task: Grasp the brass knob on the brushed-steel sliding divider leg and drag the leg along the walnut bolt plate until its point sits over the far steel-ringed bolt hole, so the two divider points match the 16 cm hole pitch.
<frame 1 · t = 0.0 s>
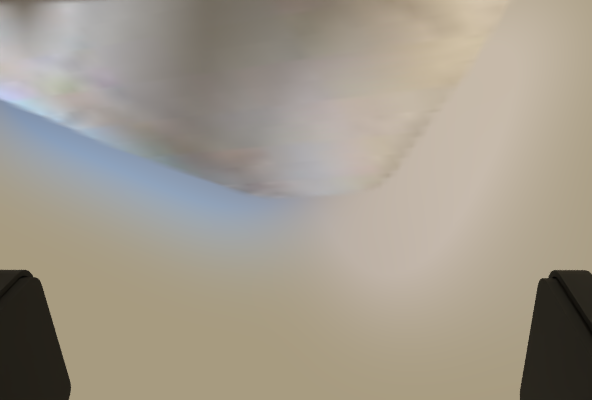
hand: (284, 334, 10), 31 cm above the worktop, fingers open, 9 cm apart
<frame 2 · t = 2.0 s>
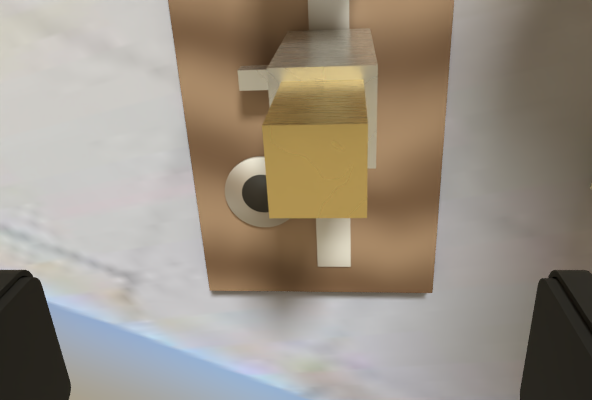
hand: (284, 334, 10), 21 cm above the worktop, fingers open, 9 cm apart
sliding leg: (294, 108, 22), point 8 cm above the worktop, slide at 7.0 cm
bolt plate: (311, 44, 29), on the worktop
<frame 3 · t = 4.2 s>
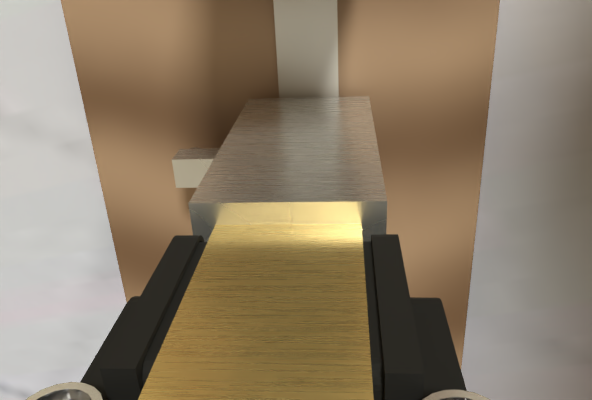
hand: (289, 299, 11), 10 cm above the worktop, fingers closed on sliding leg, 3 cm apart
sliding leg: (247, 250, 13), point 8 cm above the worktop, slide at 7.0 cm, touching gripper
bolt plate: (284, 112, 20), on the worktop
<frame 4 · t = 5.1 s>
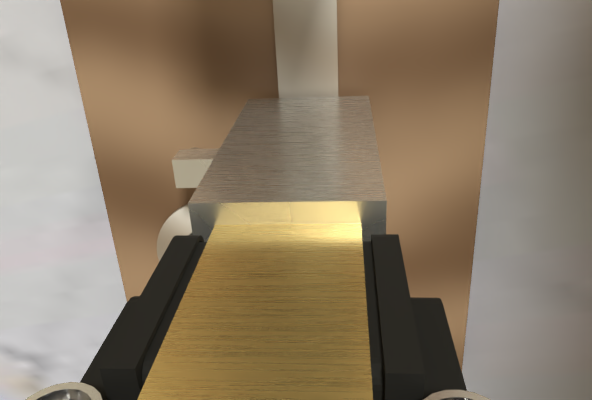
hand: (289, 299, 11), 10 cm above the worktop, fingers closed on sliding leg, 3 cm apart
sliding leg: (247, 250, 13), point 8 cm above the worktop, slide at 4.1 cm, touching gripper
bolt plate: (279, 33, 19), on the worktop
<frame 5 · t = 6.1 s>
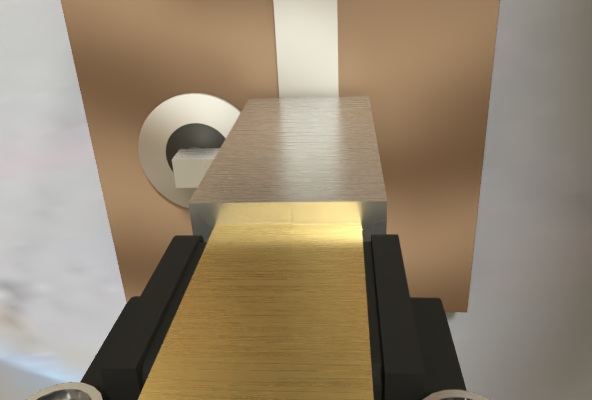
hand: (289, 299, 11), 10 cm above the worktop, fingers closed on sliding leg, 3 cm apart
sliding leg: (247, 250, 13), point 8 cm above the worktop, slide at 0.0 cm, touching gripper
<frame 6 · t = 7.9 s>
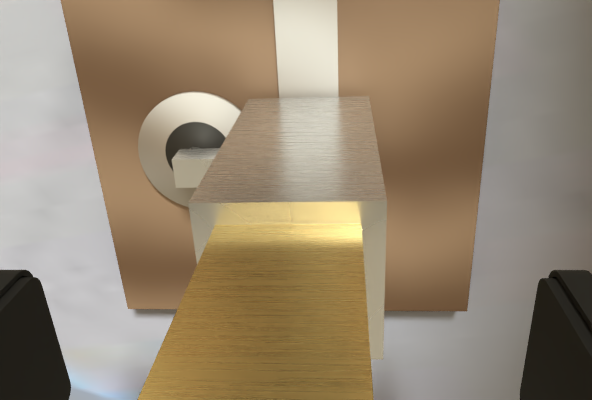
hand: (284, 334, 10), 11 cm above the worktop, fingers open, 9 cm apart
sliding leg: (246, 250, 13), point 8 cm above the worktop, slide at 0.0 cm
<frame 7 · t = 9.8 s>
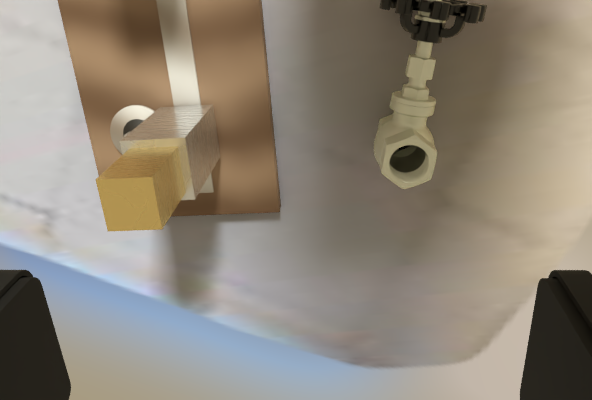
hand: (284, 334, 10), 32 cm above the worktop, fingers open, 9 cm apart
valve: (408, 81, 40), on the worktop
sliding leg: (146, 163, 35), point 8 cm above the worktop, slide at 0.0 cm
bolt plate: (165, 18, 39), on the worktop
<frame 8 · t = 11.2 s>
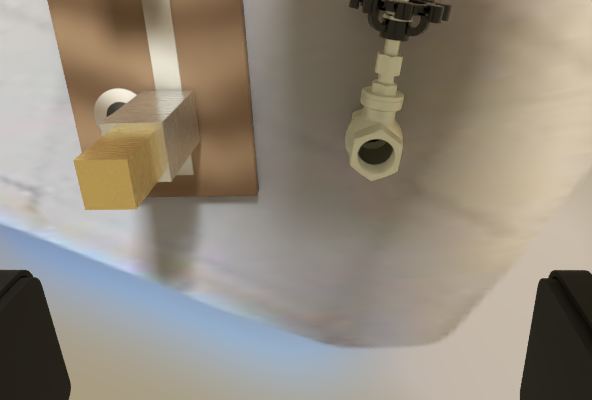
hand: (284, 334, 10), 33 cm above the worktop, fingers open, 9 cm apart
valve: (380, 76, 42), on the worktop
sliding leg: (126, 145, 36), point 8 cm above the worktop, slide at 0.0 cm
bolt plate: (148, 4, 40), on the worktop
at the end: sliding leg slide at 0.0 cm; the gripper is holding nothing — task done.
